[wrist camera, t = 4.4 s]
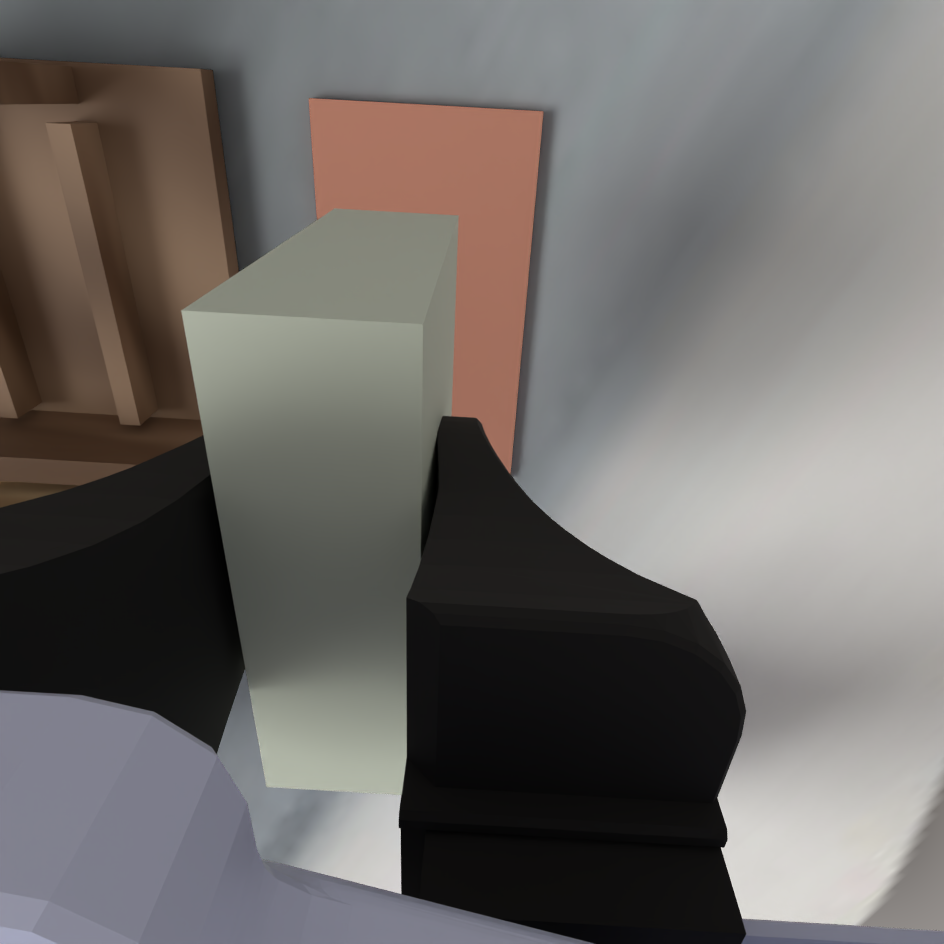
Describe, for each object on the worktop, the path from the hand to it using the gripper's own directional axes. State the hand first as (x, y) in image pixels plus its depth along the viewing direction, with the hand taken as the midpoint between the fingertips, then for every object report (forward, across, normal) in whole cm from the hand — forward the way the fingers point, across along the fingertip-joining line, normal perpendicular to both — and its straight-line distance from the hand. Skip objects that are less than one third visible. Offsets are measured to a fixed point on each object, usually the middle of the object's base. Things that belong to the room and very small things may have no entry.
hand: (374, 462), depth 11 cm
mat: (+9, 0, 0) cm, 9 cm away
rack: (+9, +10, +2) cm, 14 cm away
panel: (+3, 0, 0) cm, 3 cm away
